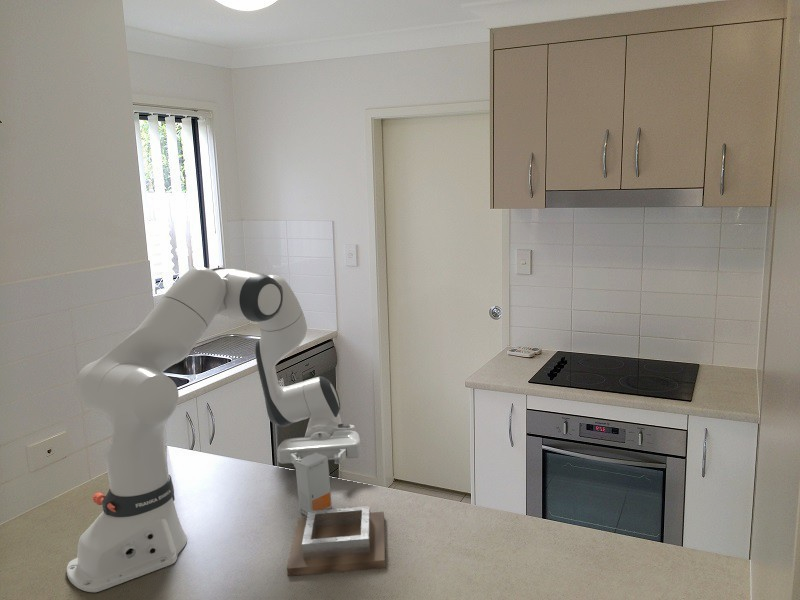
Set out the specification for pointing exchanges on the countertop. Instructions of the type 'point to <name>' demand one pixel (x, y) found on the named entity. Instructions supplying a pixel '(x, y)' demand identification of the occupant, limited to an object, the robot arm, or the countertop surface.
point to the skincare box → (313, 483)
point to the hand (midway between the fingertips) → (317, 462)
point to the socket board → (338, 541)
